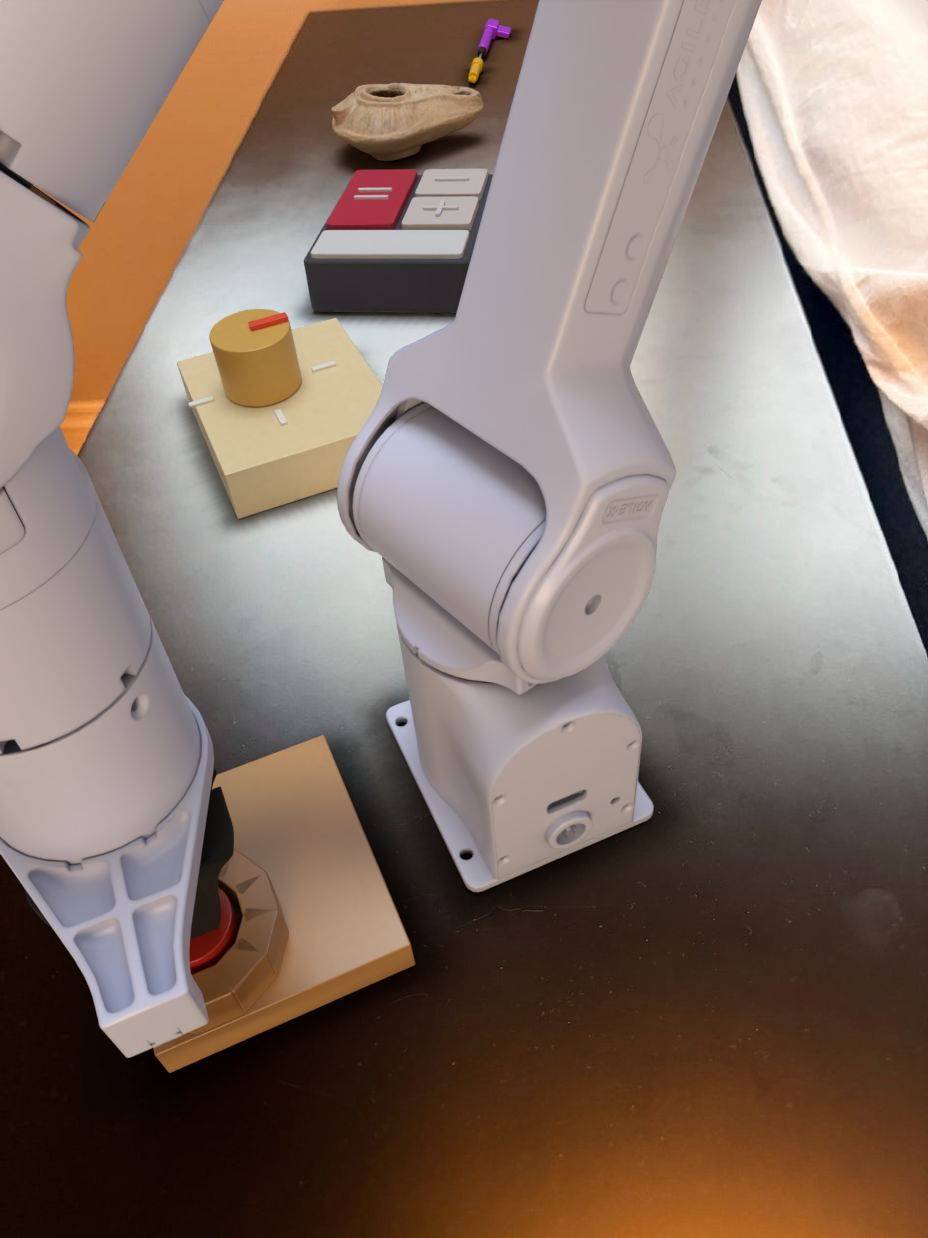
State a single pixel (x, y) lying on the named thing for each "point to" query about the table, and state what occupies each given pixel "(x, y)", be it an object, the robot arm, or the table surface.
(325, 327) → the panel
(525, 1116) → the table surface
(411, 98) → the pottery oil lamp
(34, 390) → the robot arm
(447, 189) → the calculator
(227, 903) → the power button
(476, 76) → the purple yellow angled rod
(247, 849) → the button base
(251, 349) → the dimmer knob
